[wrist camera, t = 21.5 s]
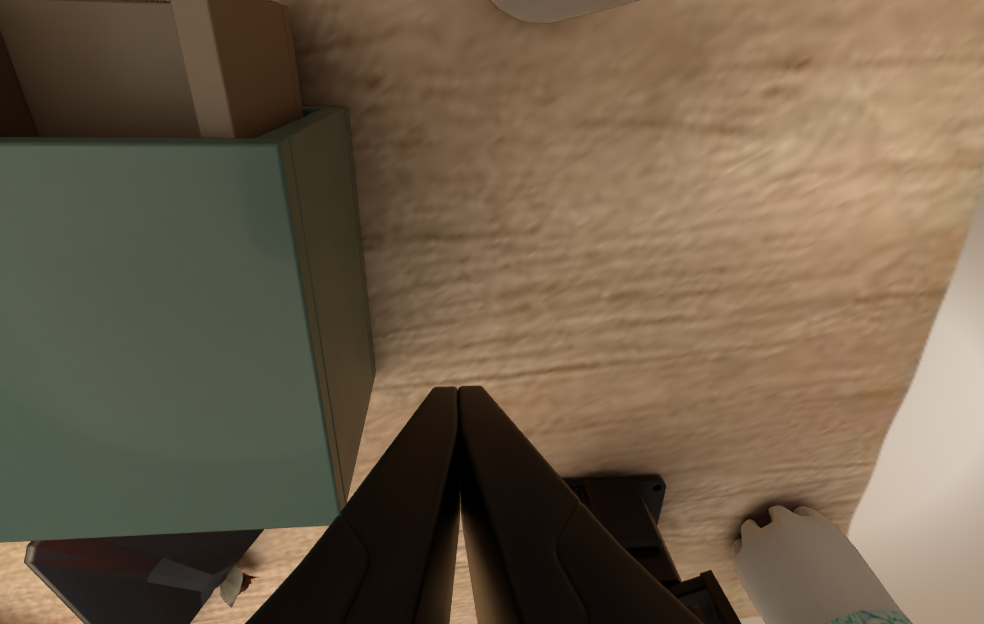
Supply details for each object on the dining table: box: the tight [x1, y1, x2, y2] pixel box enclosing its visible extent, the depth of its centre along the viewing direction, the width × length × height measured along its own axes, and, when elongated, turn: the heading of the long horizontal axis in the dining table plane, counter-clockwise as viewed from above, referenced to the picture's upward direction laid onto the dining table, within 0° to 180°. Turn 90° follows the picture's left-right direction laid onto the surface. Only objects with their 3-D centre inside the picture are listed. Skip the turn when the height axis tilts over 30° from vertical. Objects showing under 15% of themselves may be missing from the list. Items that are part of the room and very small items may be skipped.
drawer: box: [0, 0, 304, 138], centre depth 13 cm, size 15×10×7 cm
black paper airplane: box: [24, 529, 264, 624], centre depth 26 cm, size 18×3×10 cm
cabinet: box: [0, 106, 376, 543], centre depth 17 cm, size 12×12×9 cm
